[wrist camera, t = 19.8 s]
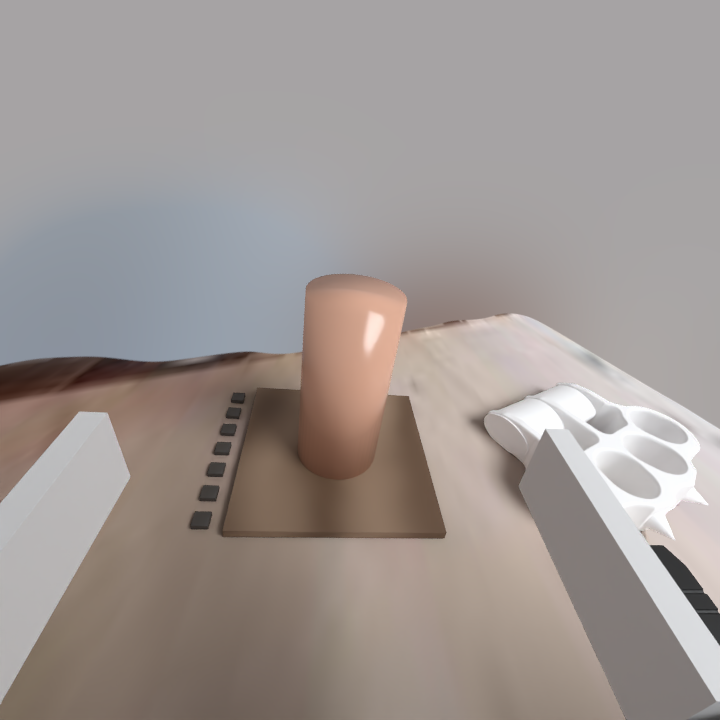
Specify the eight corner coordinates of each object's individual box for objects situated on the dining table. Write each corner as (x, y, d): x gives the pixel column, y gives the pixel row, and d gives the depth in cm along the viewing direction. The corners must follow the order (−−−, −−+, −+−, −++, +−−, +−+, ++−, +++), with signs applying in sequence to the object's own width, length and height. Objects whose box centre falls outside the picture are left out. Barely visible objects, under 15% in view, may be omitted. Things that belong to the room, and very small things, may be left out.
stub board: (407, 401, 37) (408, 396, 37) (444, 538, 25) (446, 532, 25) (234, 391, 35) (234, 386, 34) (188, 536, 23) (187, 530, 23)
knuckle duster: (569, 391, 43) (723, 489, 33) (453, 442, 34) (618, 599, 24) (583, 366, 41) (750, 462, 31) (464, 413, 32) (647, 570, 22)
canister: (371, 423, 33) (398, 278, 26) (379, 480, 28) (415, 321, 21) (299, 420, 32) (307, 270, 25) (294, 478, 27) (303, 311, 20)
